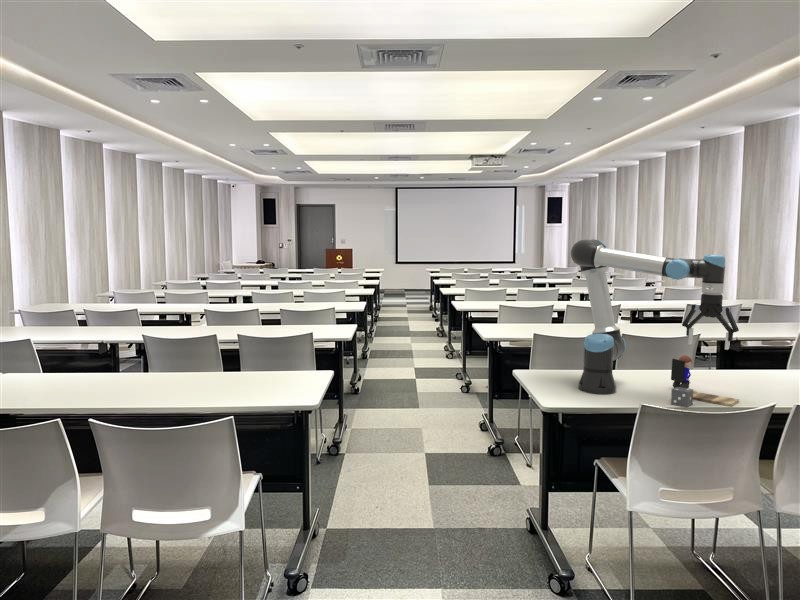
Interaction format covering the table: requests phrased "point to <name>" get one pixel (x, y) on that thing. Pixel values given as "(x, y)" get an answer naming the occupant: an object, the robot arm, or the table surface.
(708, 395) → the track
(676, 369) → the character figurine
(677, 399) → the die
